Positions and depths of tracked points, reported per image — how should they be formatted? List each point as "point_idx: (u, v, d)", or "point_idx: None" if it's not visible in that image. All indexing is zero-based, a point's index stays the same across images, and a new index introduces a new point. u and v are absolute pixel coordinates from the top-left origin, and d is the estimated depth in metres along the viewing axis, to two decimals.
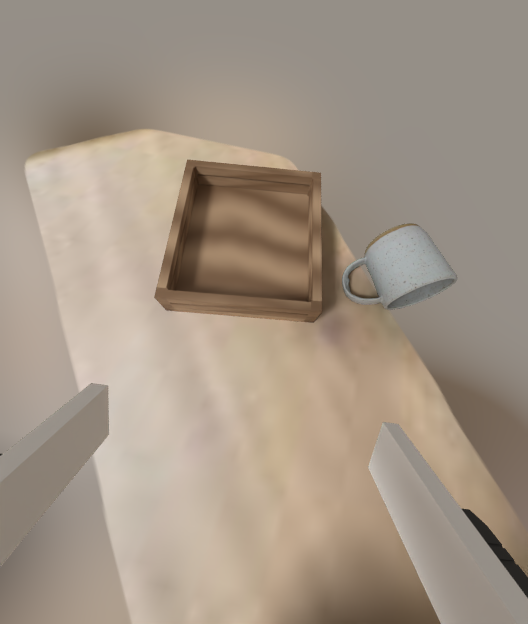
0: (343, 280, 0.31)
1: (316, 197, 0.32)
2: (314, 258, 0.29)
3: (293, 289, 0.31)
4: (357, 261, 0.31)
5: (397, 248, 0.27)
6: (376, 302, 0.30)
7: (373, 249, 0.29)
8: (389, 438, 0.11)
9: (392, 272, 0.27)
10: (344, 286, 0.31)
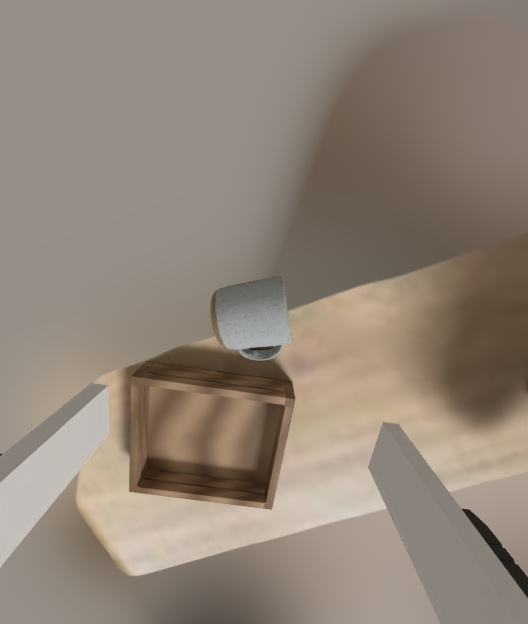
0: (256, 359, 0.32)
1: (166, 386, 0.30)
2: (241, 397, 0.30)
3: None
4: (239, 349, 0.31)
5: (244, 343, 0.26)
6: None
7: None
8: (389, 438, 0.11)
9: (267, 345, 0.27)
10: (262, 359, 0.32)
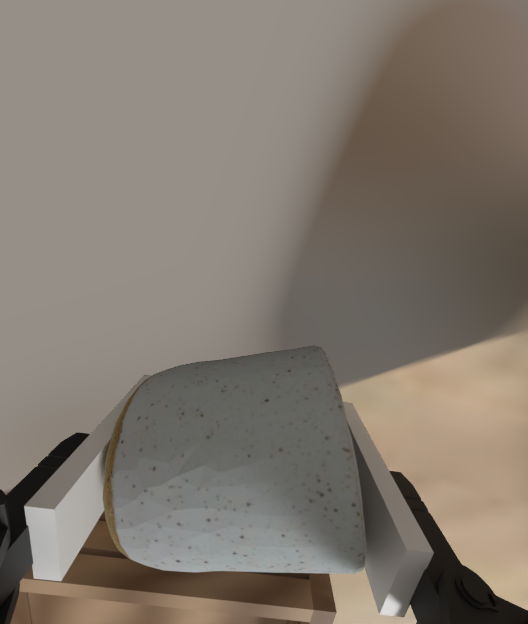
0: None
1: (27, 587, 0.12)
2: (208, 609, 0.13)
3: None
4: None
5: None
6: None
7: None
8: None
9: None
10: None
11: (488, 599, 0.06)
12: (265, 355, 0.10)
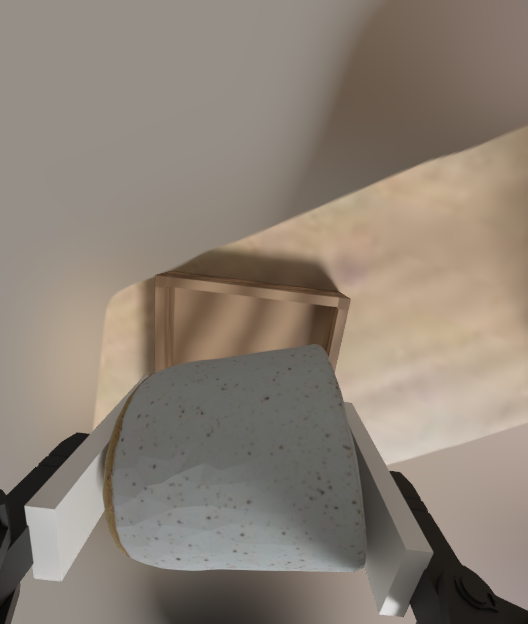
0: None
1: (197, 286, 0.25)
2: (286, 299, 0.26)
3: (305, 312, 0.29)
4: None
5: None
6: None
7: None
8: None
9: None
10: None
11: (488, 599, 0.06)
12: (265, 353, 0.10)
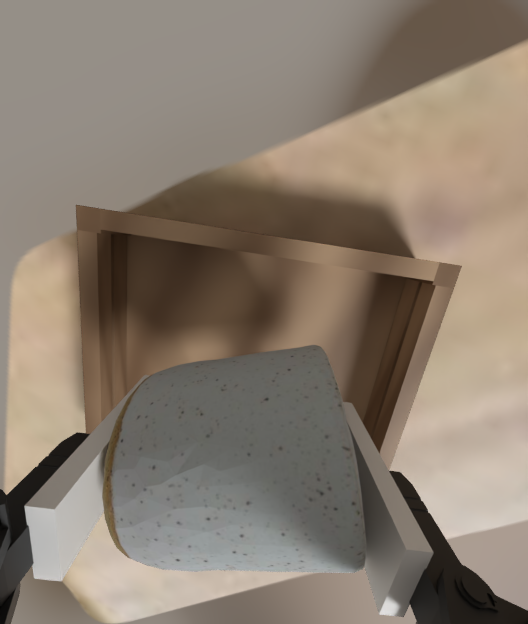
0: None
1: (162, 231, 0.13)
2: (336, 262, 0.13)
3: (358, 295, 0.17)
4: None
5: None
6: None
7: None
8: None
9: None
10: None
11: (488, 599, 0.06)
12: (265, 354, 0.10)
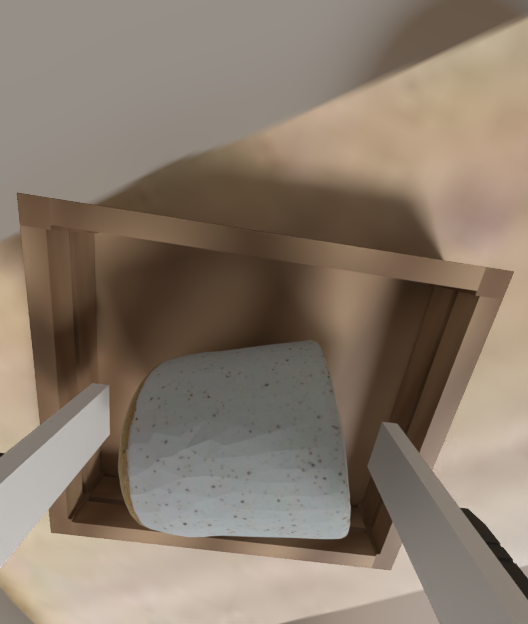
0: None
1: (130, 227, 0.10)
2: (354, 267, 0.10)
3: (375, 305, 0.14)
4: None
5: None
6: None
7: None
8: (388, 437, 0.11)
9: None
10: None
11: None
12: (265, 347, 0.11)
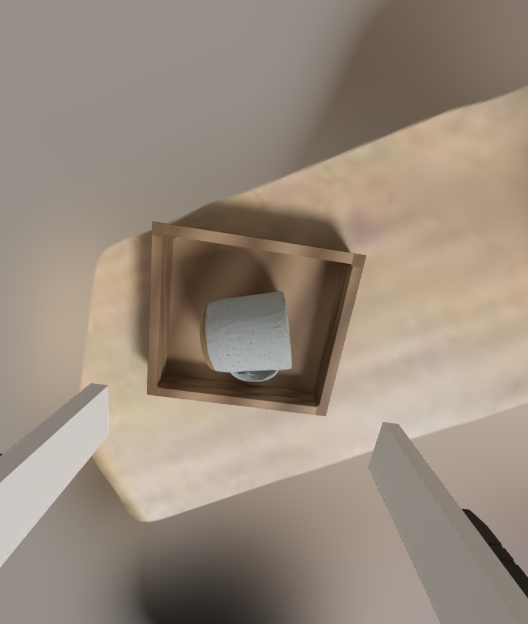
0: (249, 380, 0.29)
1: (199, 236, 0.23)
2: (296, 253, 0.23)
3: (314, 274, 0.27)
4: None
5: (237, 367, 0.22)
6: None
7: None
8: (389, 438, 0.11)
9: None
10: (256, 381, 0.29)
11: None
12: (259, 294, 0.24)
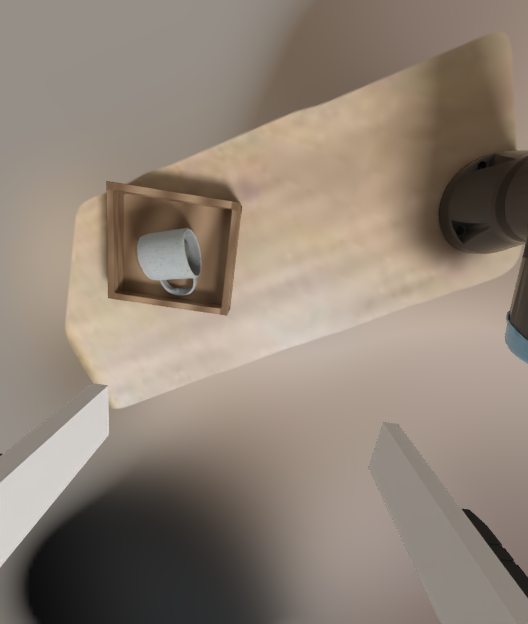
0: (177, 294, 0.43)
1: (135, 190, 0.37)
2: (196, 201, 0.38)
3: (216, 219, 0.41)
4: (162, 284, 0.42)
5: (157, 272, 0.37)
6: (196, 278, 0.42)
7: (155, 279, 0.39)
8: (389, 438, 0.11)
9: (176, 276, 0.38)
10: (182, 295, 0.43)
11: None
12: None
